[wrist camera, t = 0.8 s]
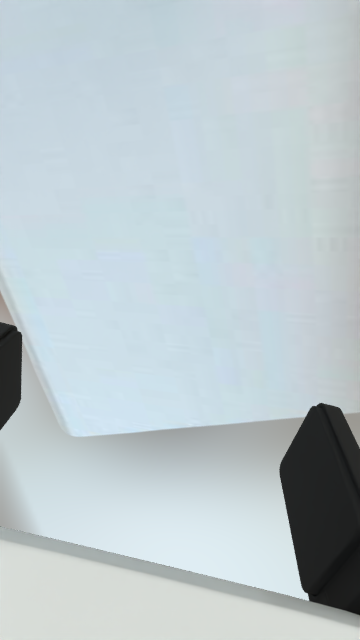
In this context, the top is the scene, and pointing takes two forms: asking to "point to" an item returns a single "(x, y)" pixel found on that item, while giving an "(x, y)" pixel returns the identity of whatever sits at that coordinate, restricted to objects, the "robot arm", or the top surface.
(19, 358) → the robot arm
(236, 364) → the top surface
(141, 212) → the top surface
